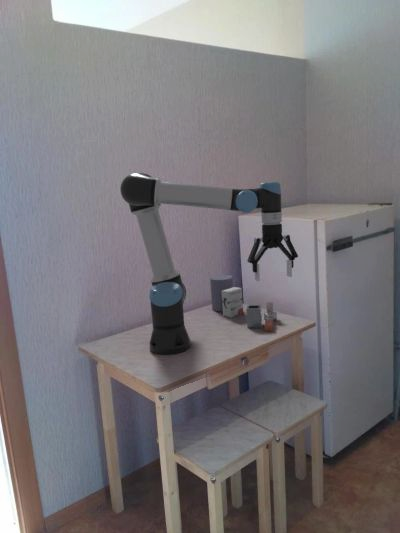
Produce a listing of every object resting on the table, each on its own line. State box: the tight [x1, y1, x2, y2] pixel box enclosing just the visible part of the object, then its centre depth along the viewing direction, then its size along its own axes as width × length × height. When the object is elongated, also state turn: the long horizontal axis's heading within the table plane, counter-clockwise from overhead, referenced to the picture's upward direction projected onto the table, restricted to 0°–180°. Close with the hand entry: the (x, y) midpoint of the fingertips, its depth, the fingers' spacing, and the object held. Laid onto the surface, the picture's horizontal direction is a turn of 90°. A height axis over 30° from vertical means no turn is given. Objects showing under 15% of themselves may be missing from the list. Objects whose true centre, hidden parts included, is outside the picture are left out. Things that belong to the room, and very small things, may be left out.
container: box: [209, 274, 234, 312], centre depth 220 cm, size 10×10×15 cm
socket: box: [245, 304, 263, 329], centre depth 193 cm, size 6×6×8 cm
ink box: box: [222, 286, 244, 318], centre depth 210 cm, size 9×5×12 cm, turn 133°
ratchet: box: [263, 300, 278, 333], centre depth 193 cm, size 5×18×8 cm, turn 168°
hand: (273, 278), depth 183 cm, fingers open, 13 cm apart
